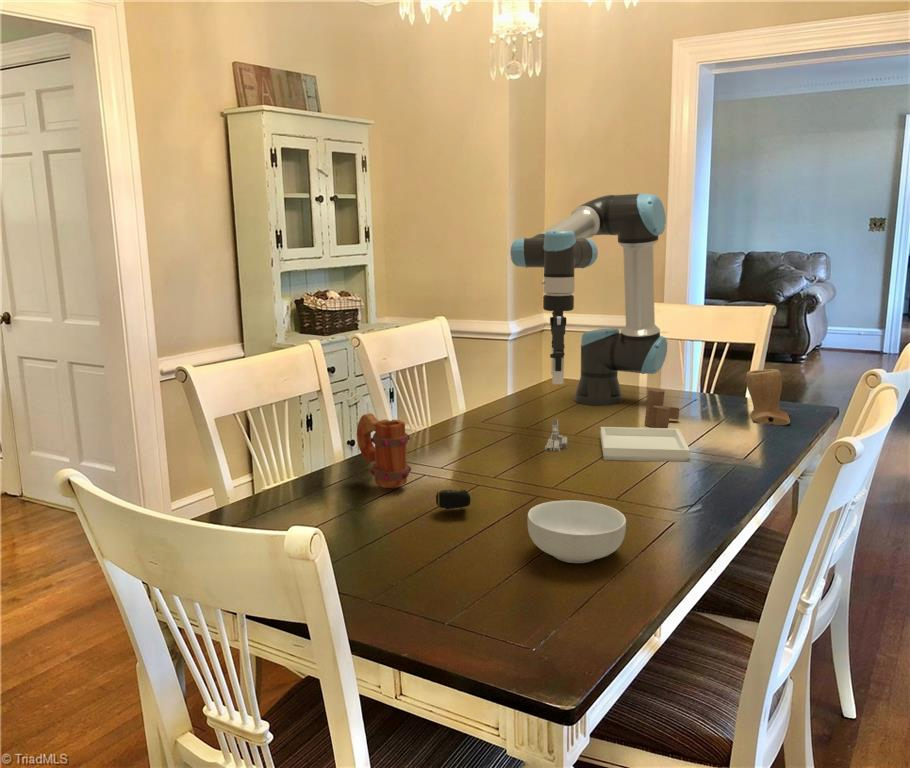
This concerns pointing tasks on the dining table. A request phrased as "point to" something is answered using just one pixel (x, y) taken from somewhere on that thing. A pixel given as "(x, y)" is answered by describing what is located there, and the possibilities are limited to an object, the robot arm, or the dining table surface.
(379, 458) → the mug
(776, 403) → the brown upright flared piece
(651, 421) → the wooden block set
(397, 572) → the dining table surface
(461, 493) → the tape measure
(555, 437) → the house of cards
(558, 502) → the cereal bowl
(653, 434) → the tray
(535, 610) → the dining table surface
